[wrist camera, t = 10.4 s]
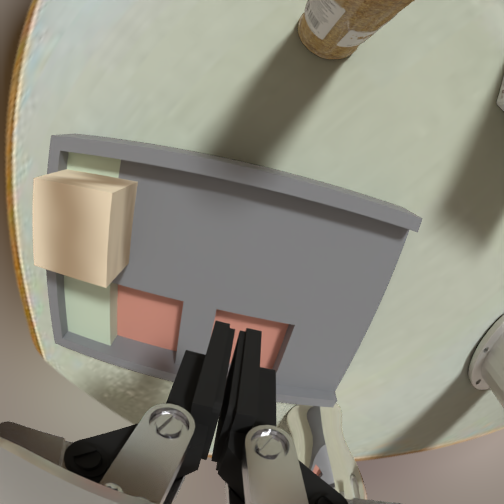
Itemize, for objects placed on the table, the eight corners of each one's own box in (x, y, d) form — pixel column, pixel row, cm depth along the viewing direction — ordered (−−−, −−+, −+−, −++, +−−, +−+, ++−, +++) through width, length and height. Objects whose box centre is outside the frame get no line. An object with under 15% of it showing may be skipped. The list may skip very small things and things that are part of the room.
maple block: (137, 181, 19) (112, 192, 16) (128, 263, 21) (106, 287, 18) (66, 169, 19) (33, 177, 15) (62, 245, 21) (34, 265, 17)
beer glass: (314, 386, 28) (338, 524, 14) (357, 408, 29) (389, 525, 15) (268, 420, 30) (271, 544, 16) (313, 439, 31) (327, 548, 17)
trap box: (403, 207, 22) (422, 218, 19) (327, 384, 28) (332, 407, 25) (74, 133, 20) (51, 135, 17) (70, 324, 26) (55, 343, 23)
